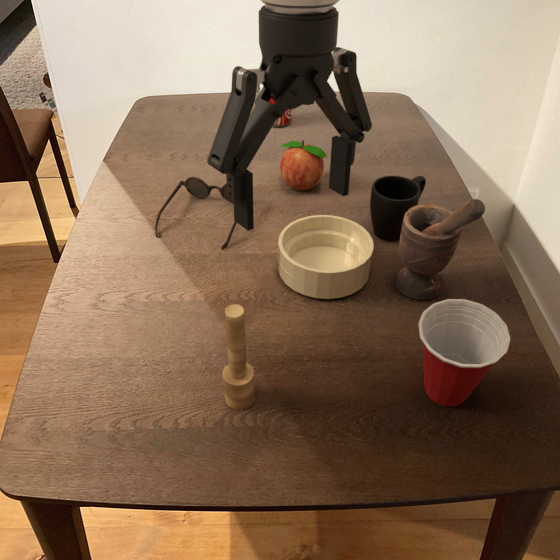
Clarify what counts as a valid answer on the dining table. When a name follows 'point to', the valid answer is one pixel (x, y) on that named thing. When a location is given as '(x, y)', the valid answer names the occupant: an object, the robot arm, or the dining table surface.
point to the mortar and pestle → (430, 245)
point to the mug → (393, 204)
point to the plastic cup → (459, 348)
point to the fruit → (302, 165)
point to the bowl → (325, 256)
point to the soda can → (284, 119)
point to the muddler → (237, 362)
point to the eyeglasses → (199, 191)
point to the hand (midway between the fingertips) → (293, 207)
